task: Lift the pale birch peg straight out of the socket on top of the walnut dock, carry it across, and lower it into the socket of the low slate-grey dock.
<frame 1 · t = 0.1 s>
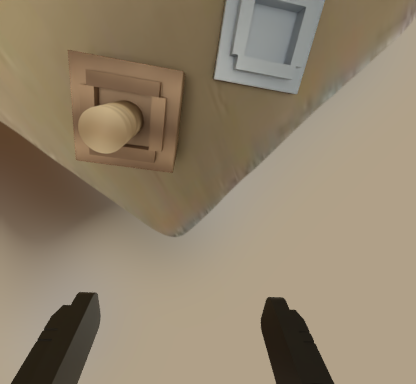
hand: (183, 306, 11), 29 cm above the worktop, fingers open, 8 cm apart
walnut dock: (140, 111, 35), on the worktop
birch peg: (126, 118, 27), point 8 cm above the worktop, touching walnut dock
slate dock: (263, 38, 32), on the worktop
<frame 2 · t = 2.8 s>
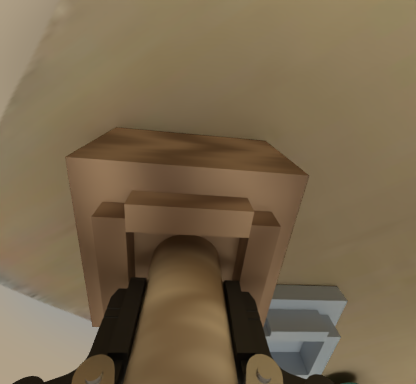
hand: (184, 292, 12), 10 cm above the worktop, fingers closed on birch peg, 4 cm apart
walnut dock: (188, 200, 21), on the worktop
birch peg: (185, 261, 14), point 8 cm above the worktop, touching gripper, walnut dock
slate dock: (276, 320, 29), on the worktop
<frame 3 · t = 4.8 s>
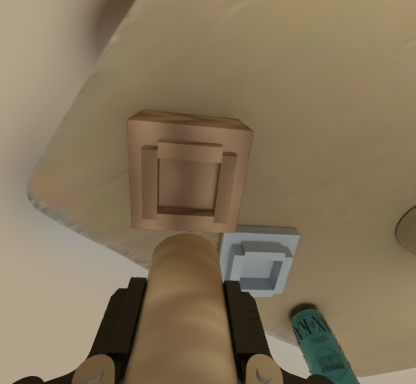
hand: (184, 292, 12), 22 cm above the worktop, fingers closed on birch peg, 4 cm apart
beverage bottle: (302, 311, 47), on the worktop
walnut dock: (188, 160, 32), on the worktop
birch peg: (186, 261, 14), point 20 cm above the worktop, touching gripper
slate dock: (252, 255, 40), on the worktop
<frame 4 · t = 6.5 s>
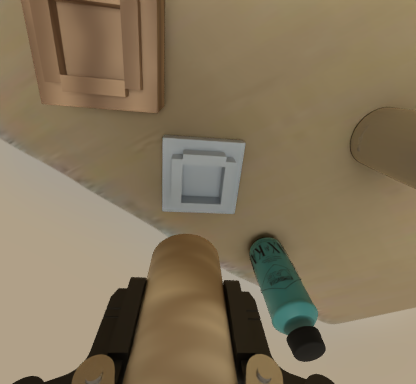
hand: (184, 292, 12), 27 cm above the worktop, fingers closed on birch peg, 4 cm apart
beverage bottle: (262, 244, 45), on the worktop
walnut dock: (117, 52, 30), on the worktop
birch peg: (185, 261, 14), point 25 cm above the worktop, touching gripper
slate dock: (201, 174, 38), on the worktop
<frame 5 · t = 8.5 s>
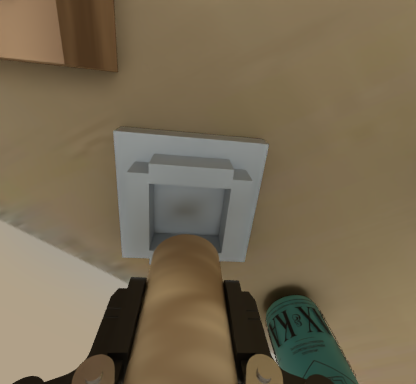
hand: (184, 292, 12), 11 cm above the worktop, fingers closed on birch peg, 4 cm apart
beverage bottle: (284, 300, 29), on the worktop
birch peg: (185, 261, 14), point 9 cm above the worktop, touching gripper
slate dock: (189, 196, 22), on the worktop
when the fingers open (5 cm above the worktop, at t = 10.2 s): birch peg stays where it is, resting on slate dock.
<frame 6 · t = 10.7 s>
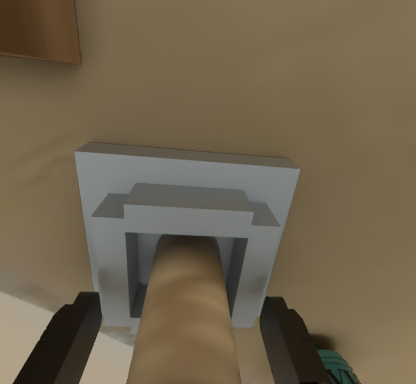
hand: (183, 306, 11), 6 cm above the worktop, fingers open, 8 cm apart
beverage bottle: (304, 350, 24), on the worktop
birch peg: (187, 251, 15), point 2 cm above the worktop, touching slate dock
slate dock: (186, 232, 17), on the worktop
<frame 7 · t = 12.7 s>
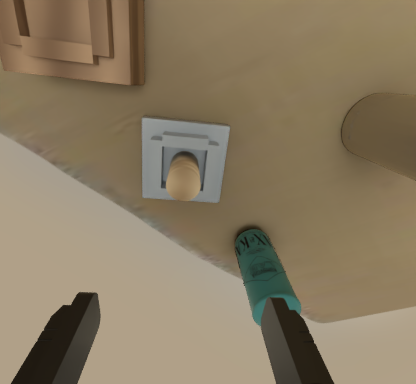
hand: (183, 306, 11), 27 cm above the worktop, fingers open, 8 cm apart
beverage bottle: (248, 237, 43), on the worktop
walnut dock: (93, 23, 28), on the worktop
birch peg: (184, 164, 34), point 2 cm above the worktop, touching slate dock
slate dock: (184, 160, 36), on the worktop
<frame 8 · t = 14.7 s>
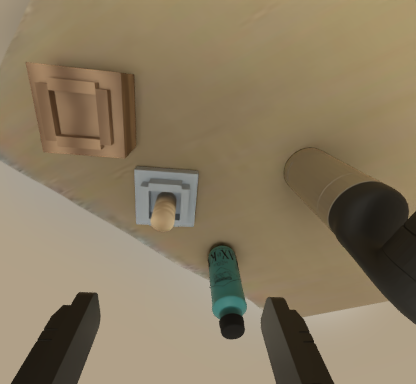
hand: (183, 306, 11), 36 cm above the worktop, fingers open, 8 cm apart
beverage bottle: (220, 251, 56), on the worktop
walnut dock: (100, 109, 41), on the worktop
birch peg: (166, 200, 47), point 2 cm above the worktop, touching slate dock
slate dock: (167, 195, 48), on the worktop
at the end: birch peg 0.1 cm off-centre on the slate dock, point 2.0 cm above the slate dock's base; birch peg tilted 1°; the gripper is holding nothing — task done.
